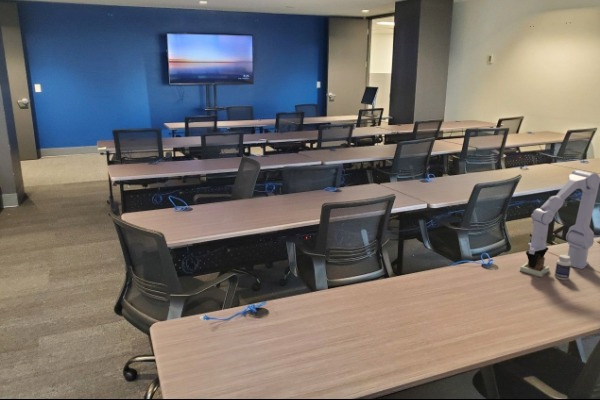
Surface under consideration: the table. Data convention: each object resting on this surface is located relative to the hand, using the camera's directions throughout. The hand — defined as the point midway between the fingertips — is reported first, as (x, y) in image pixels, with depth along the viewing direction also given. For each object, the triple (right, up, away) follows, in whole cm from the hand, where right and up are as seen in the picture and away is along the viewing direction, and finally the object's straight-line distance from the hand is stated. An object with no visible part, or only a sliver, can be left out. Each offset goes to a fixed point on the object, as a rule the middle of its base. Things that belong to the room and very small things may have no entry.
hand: (535, 264), depth 201 cm
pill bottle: (+8, -5, -5) cm, 11 cm away
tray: (0, -3, +1) cm, 3 cm away
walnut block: (0, -3, +1) cm, 3 cm away
